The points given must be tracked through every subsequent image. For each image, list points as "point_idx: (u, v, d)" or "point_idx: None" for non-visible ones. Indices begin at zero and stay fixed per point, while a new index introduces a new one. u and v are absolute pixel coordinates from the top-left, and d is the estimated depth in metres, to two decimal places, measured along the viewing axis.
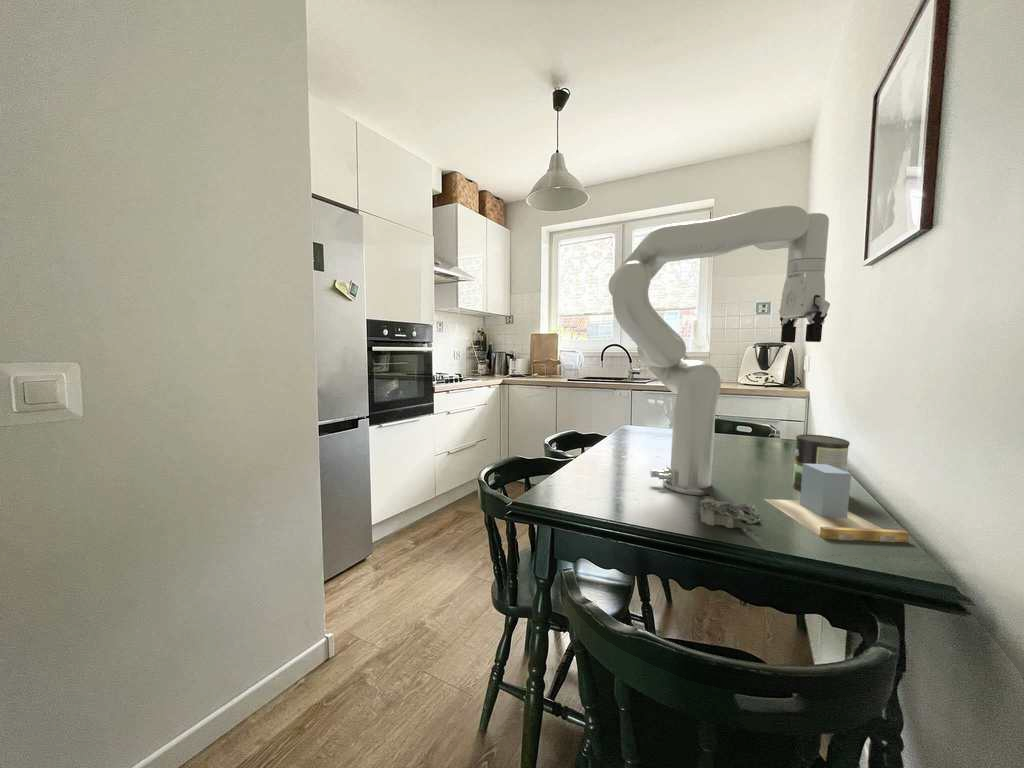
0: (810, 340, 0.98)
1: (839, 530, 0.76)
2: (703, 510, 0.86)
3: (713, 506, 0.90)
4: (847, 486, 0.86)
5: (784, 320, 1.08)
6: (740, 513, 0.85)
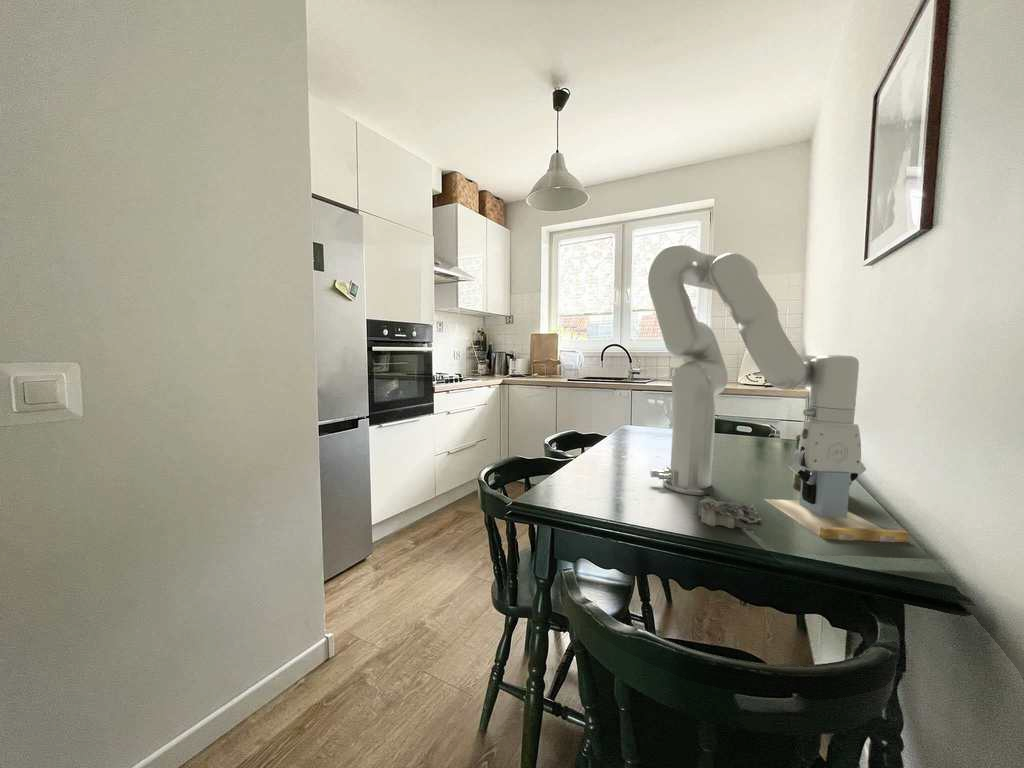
0: None
1: (839, 530, 0.76)
2: (704, 511, 0.86)
3: (712, 506, 0.89)
4: (847, 486, 0.85)
5: (814, 476, 0.88)
6: (740, 512, 0.85)
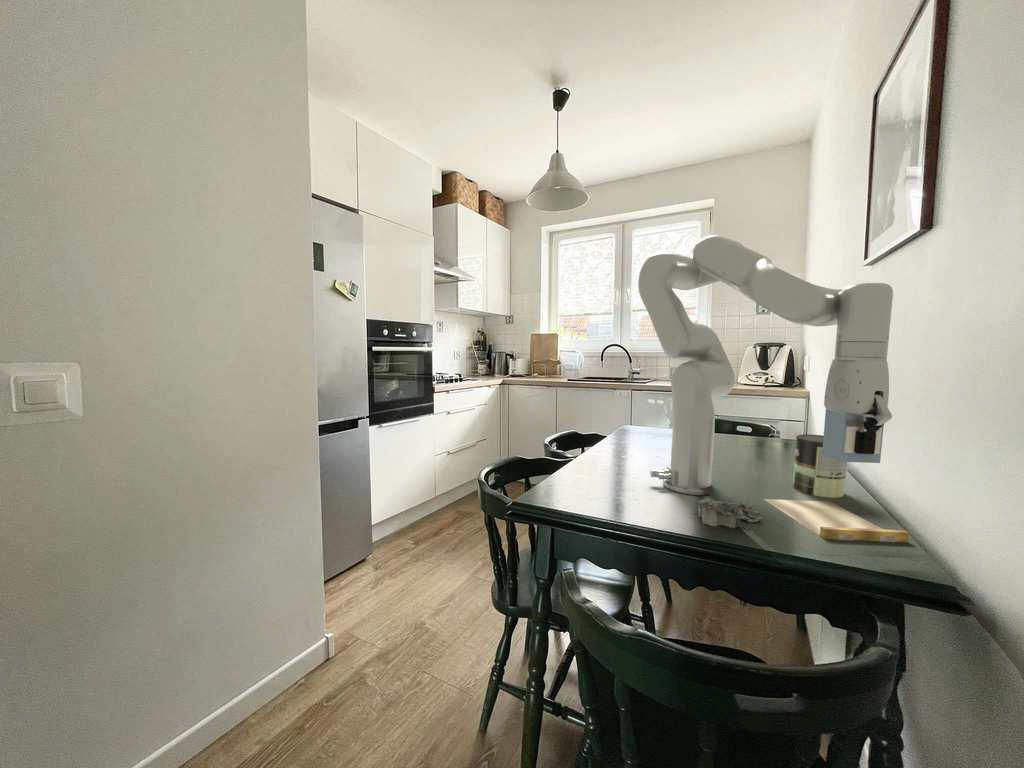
0: (861, 452, 0.77)
1: (839, 530, 0.76)
2: (705, 511, 0.85)
3: (711, 506, 0.89)
4: (841, 426, 0.79)
5: None
6: (740, 512, 0.85)
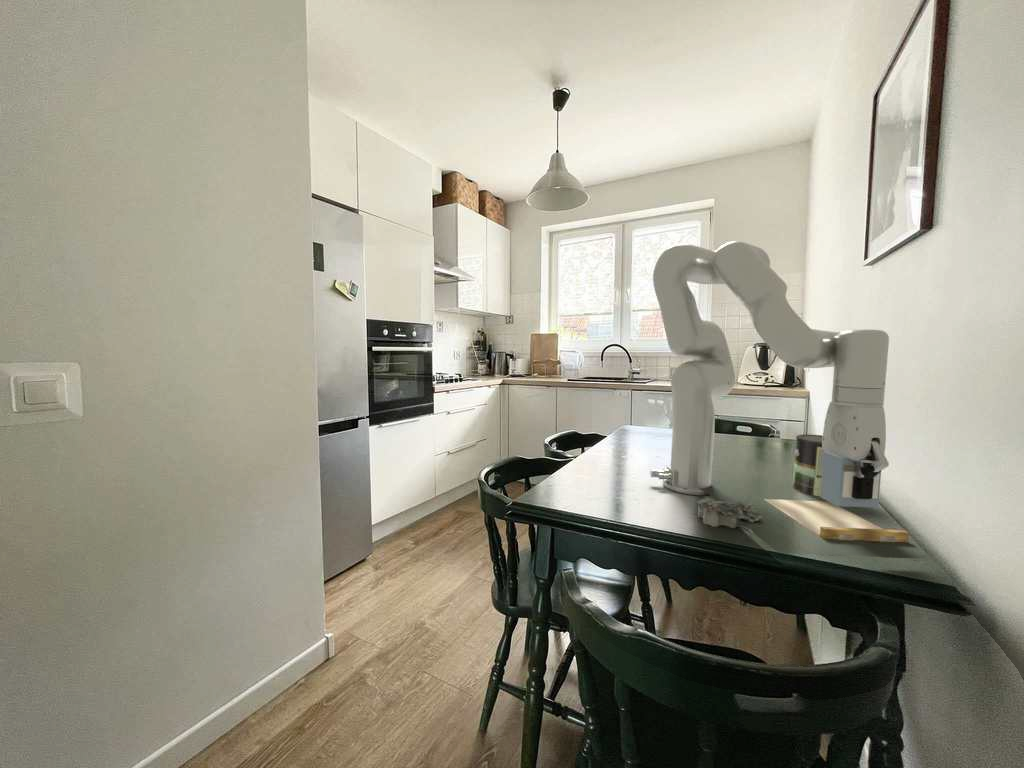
0: (858, 497, 0.78)
1: (839, 530, 0.76)
2: (706, 512, 0.85)
3: (710, 506, 0.89)
4: (839, 471, 0.79)
5: None
6: (740, 511, 0.86)
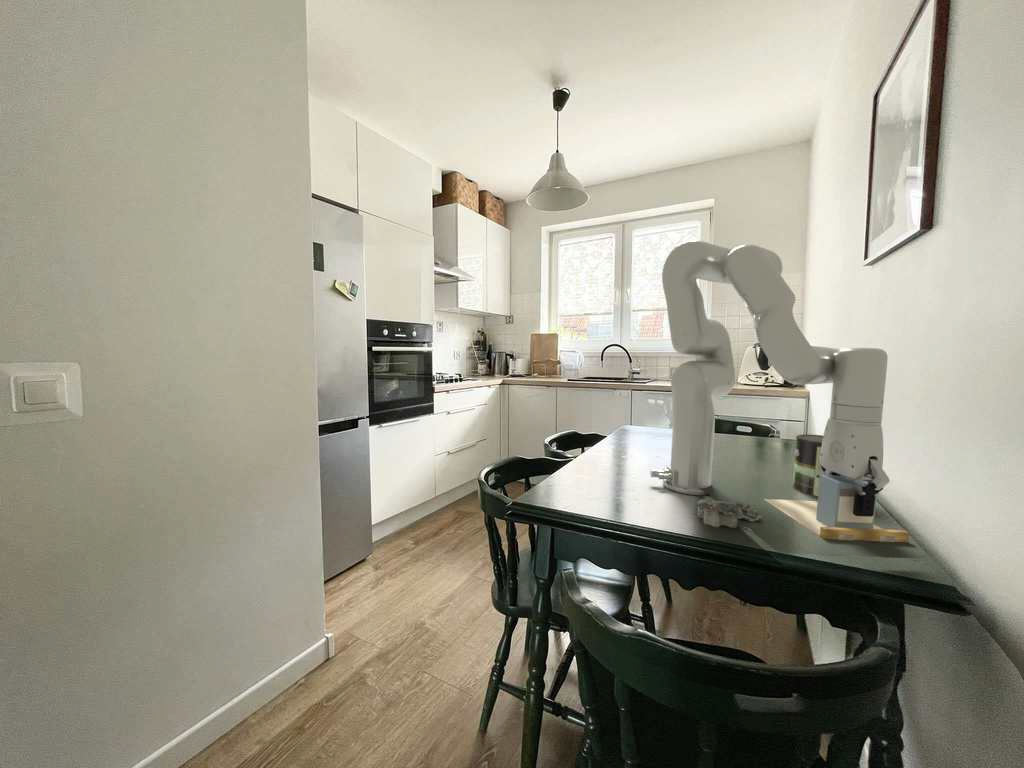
0: (859, 514, 0.77)
1: (839, 530, 0.76)
2: (707, 512, 0.85)
3: (710, 506, 0.89)
4: (835, 495, 0.80)
5: (827, 472, 0.85)
6: (740, 511, 0.86)
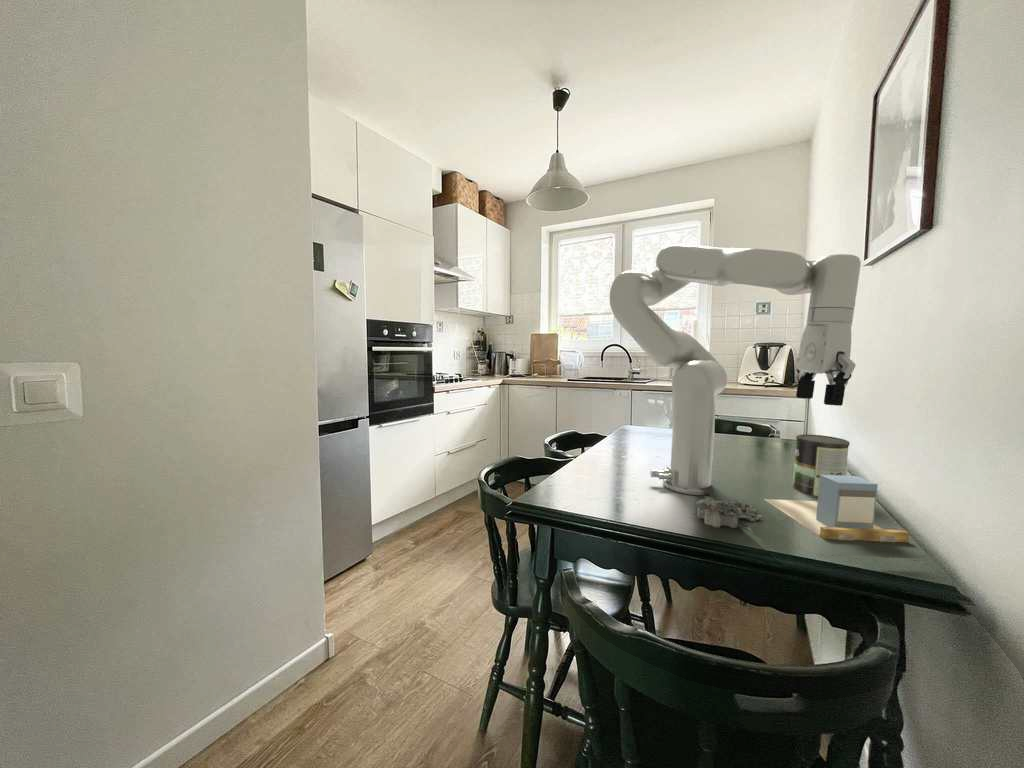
0: (829, 403, 0.85)
1: (839, 530, 0.76)
2: (708, 513, 0.85)
3: (709, 506, 0.89)
4: (834, 495, 0.80)
5: (801, 373, 0.94)
6: (739, 511, 0.86)
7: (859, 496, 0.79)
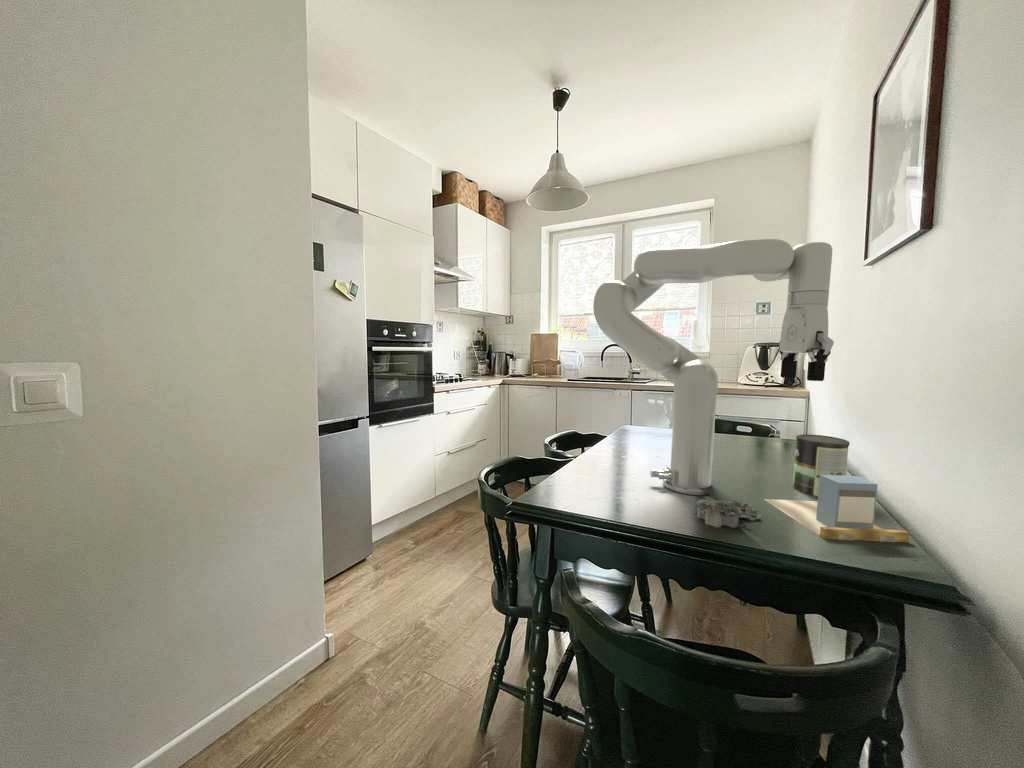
0: (812, 379, 0.91)
1: (839, 530, 0.76)
2: (709, 513, 0.85)
3: (709, 506, 0.89)
4: (834, 495, 0.80)
5: (784, 354, 1.01)
6: (739, 510, 0.86)
7: (859, 496, 0.79)
